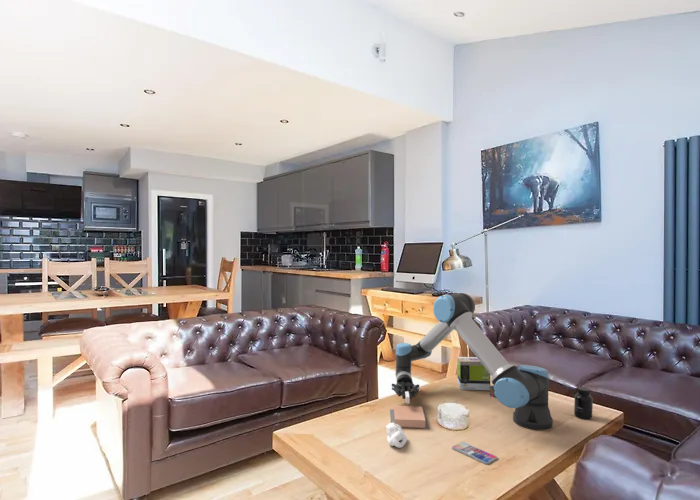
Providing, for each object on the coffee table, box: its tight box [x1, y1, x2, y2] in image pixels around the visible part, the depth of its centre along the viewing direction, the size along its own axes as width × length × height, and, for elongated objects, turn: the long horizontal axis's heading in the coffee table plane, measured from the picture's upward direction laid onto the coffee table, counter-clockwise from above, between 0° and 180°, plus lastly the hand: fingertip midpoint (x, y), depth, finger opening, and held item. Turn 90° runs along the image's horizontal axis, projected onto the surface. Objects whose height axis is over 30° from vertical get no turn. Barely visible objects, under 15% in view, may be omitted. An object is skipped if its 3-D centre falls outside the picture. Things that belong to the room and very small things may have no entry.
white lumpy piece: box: [385, 422, 408, 449], centre depth 157 cm, size 9×12×8 cm
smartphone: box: [451, 441, 499, 466], centre depth 149 cm, size 7×1×15 cm
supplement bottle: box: [573, 386, 594, 421], centre depth 181 cm, size 7×7×12 cm
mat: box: [389, 408, 430, 430], centre depth 177 cm, size 18×15×1 cm
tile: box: [393, 405, 426, 429], centre depth 175 cm, size 3×12×14 cm
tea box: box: [456, 356, 491, 392], centre depth 217 cm, size 15×10×15 cm, turn 84°
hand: (407, 399), depth 178 cm, fingers closed
